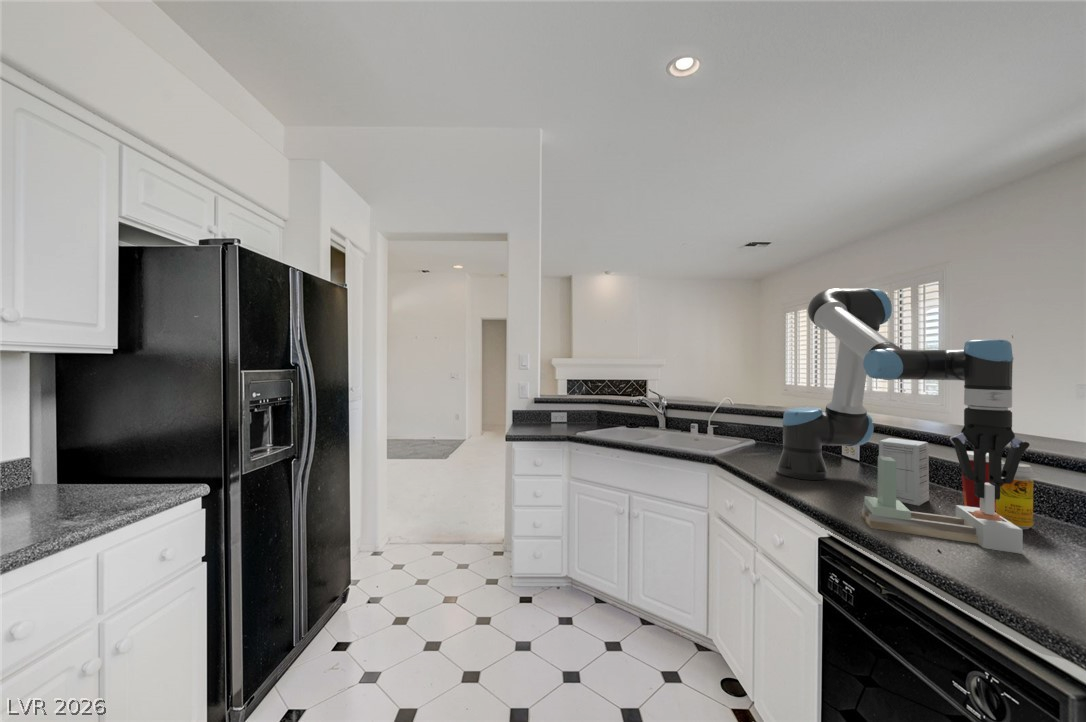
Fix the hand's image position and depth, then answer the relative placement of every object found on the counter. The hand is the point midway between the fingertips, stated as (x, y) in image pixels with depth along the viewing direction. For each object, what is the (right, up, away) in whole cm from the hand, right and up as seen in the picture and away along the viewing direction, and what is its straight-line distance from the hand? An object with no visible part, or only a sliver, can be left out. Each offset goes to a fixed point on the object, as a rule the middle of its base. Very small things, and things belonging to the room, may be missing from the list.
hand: (987, 512), depth 96 cm
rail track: (-11, -6, +6) cm, 14 cm away
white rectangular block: (0, -6, 0) cm, 6 cm away
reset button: (0, -4, 0) cm, 4 cm away
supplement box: (+5, -6, +28) cm, 29 cm away
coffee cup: (+19, -6, +20) cm, 28 cm away
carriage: (-16, -3, +8) cm, 18 cm away
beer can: (+15, -6, +8) cm, 18 cm away
